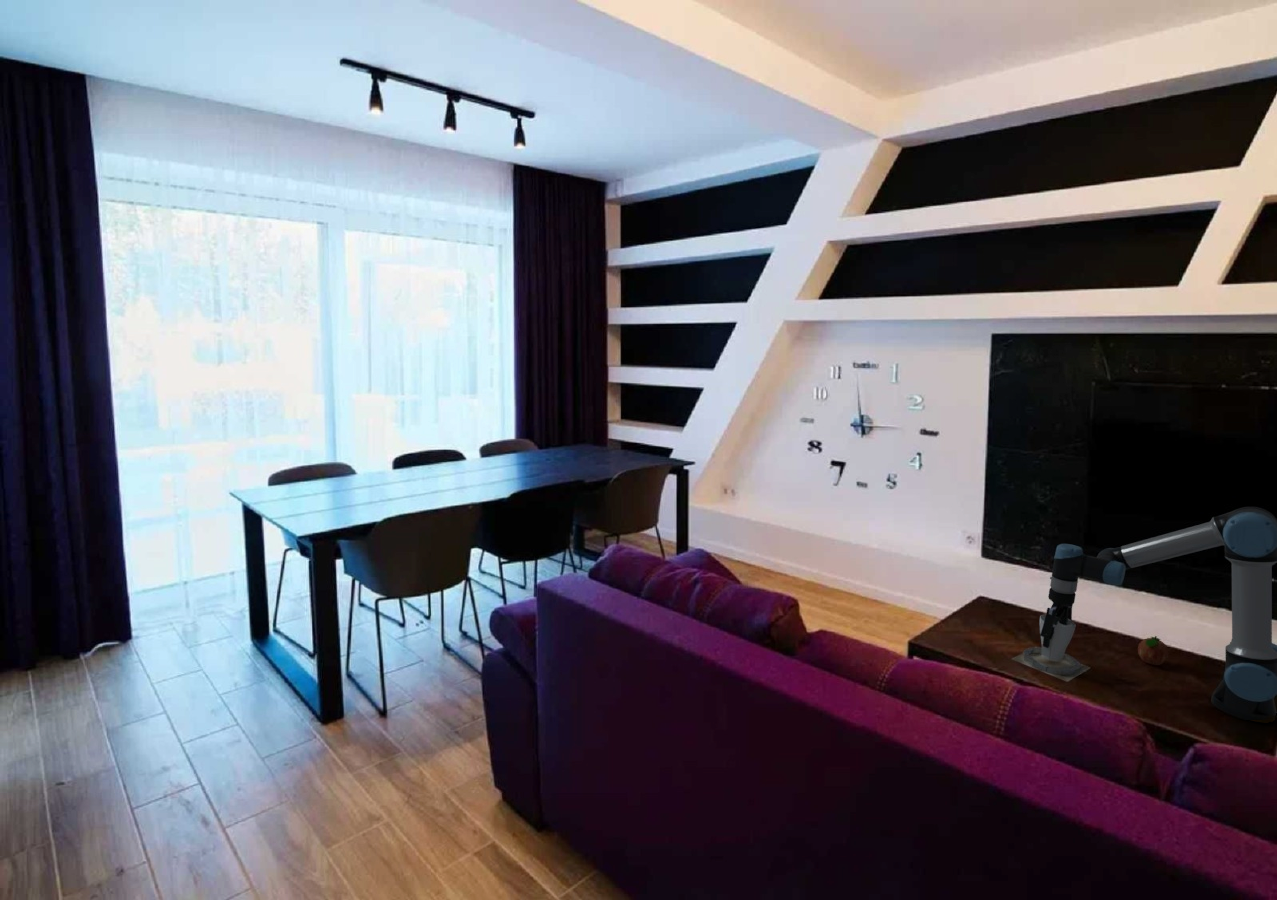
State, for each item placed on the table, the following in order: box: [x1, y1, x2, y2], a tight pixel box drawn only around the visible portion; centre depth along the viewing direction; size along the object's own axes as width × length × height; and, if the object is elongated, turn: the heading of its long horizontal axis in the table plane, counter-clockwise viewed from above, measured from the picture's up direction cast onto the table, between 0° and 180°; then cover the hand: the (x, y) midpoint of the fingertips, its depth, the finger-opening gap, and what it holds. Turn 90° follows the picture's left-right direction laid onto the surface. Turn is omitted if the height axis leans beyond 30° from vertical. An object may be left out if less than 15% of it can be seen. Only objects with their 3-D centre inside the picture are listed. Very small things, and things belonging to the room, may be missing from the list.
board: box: [1011, 652, 1092, 682], centre depth 235 cm, size 18×18×1 cm
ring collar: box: [1022, 646, 1081, 675], centre depth 235 cm, size 16×16×2 cm
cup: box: [1039, 614, 1077, 662], centre depth 234 cm, size 10×10×14 cm
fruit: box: [1137, 635, 1169, 666], centre depth 241 cm, size 9×10×10 cm
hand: (1052, 651), depth 235 cm, fingers closed on cup, 10 cm apart
